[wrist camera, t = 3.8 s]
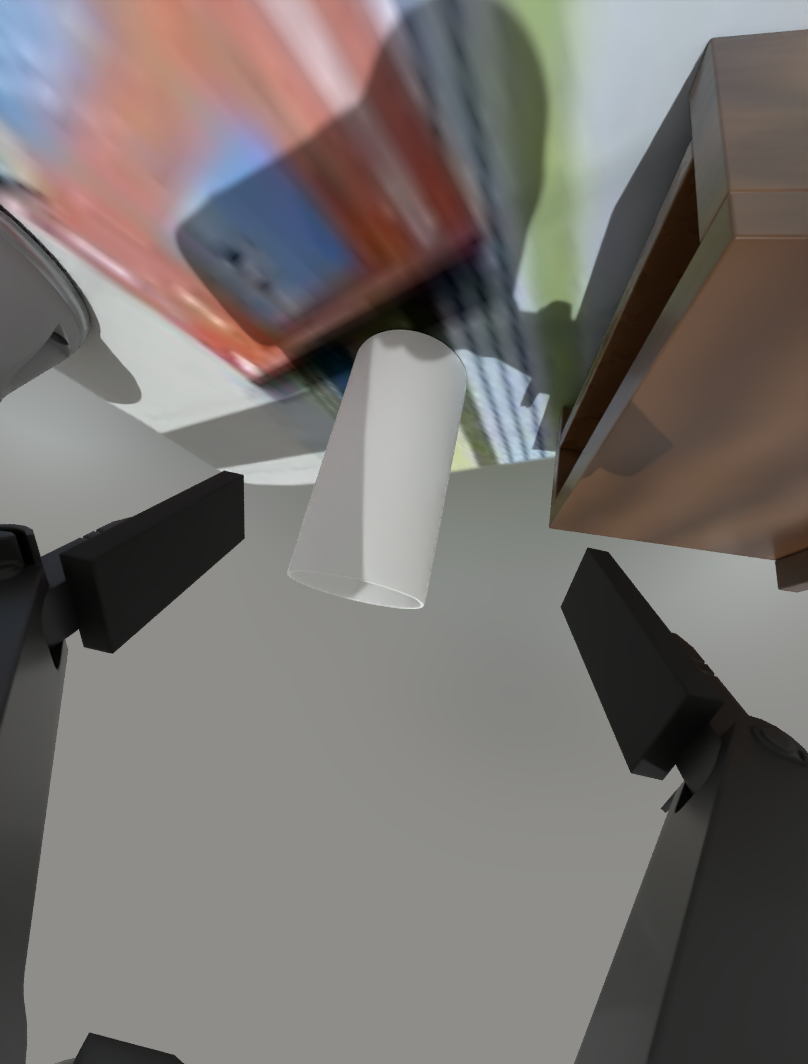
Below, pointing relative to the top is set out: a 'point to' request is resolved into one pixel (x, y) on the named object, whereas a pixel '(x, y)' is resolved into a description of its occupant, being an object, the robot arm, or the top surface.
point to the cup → (384, 474)
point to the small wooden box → (710, 336)
